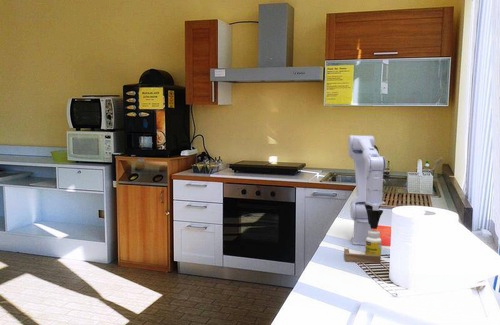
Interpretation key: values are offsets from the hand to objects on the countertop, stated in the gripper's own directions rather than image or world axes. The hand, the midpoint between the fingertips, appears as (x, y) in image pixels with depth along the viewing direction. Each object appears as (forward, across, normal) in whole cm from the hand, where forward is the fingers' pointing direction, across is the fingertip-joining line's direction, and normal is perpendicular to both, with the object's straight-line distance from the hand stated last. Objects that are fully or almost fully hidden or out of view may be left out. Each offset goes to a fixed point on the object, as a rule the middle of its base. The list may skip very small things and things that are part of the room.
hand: (372, 226), depth 177 cm
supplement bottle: (+11, -5, 0) cm, 12 cm away
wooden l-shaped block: (+10, -7, +4) cm, 13 cm away
